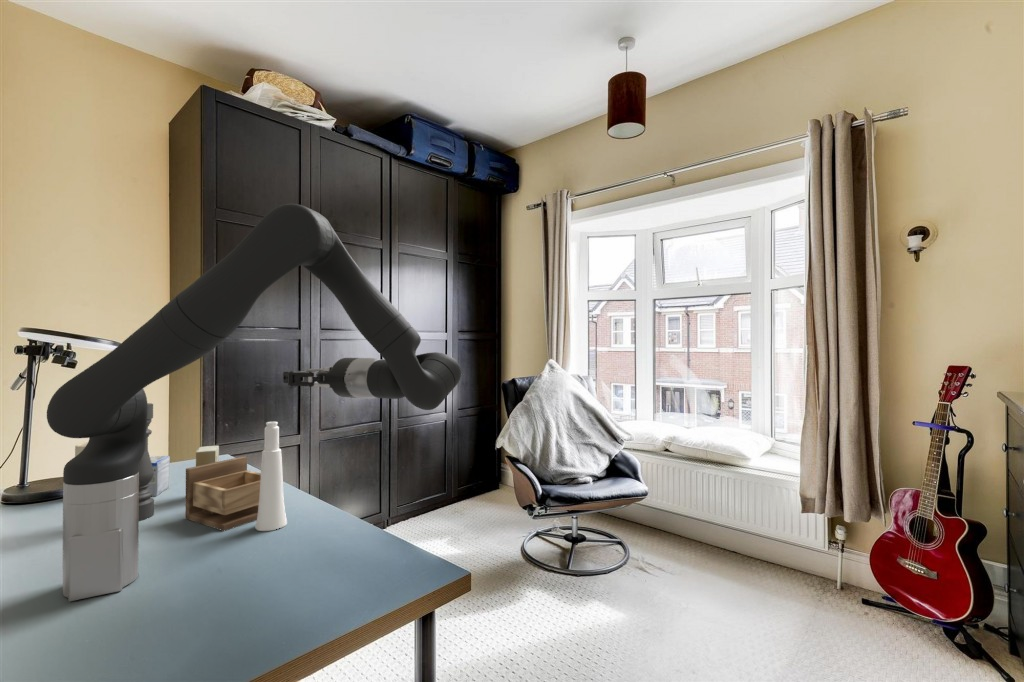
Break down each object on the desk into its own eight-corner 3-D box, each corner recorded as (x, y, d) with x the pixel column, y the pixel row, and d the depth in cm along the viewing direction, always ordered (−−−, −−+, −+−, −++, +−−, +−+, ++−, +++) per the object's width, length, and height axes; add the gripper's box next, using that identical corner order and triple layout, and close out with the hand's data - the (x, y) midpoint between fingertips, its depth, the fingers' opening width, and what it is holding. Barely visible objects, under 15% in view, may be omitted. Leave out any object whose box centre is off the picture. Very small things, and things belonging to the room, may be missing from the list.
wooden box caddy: (280, 511, 109) (281, 463, 109) (223, 531, 98) (223, 477, 98) (243, 501, 116) (243, 456, 116) (185, 518, 104) (185, 468, 105)
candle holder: (160, 512, 108) (161, 403, 108) (136, 523, 102) (137, 406, 102) (136, 511, 108) (136, 402, 109) (110, 522, 102) (111, 406, 102)
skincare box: (199, 493, 122) (199, 446, 122) (219, 491, 123) (219, 444, 123) (194, 501, 116) (195, 451, 116) (215, 499, 117) (215, 449, 118)
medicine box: (150, 488, 126) (150, 456, 126) (169, 487, 127) (170, 455, 127) (136, 498, 118) (136, 463, 118) (157, 496, 120) (157, 462, 120)
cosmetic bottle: (250, 526, 100) (251, 422, 100) (280, 518, 105) (280, 419, 105) (261, 534, 96) (262, 425, 96) (291, 525, 101) (292, 422, 101)
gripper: (388, 356, 94) (331, 356, 102) (331, 359, 82) (270, 358, 89) (388, 394, 94) (331, 391, 102) (331, 402, 82) (271, 397, 89)
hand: (303, 375), depth 96 cm, fingers open, 8 cm apart
